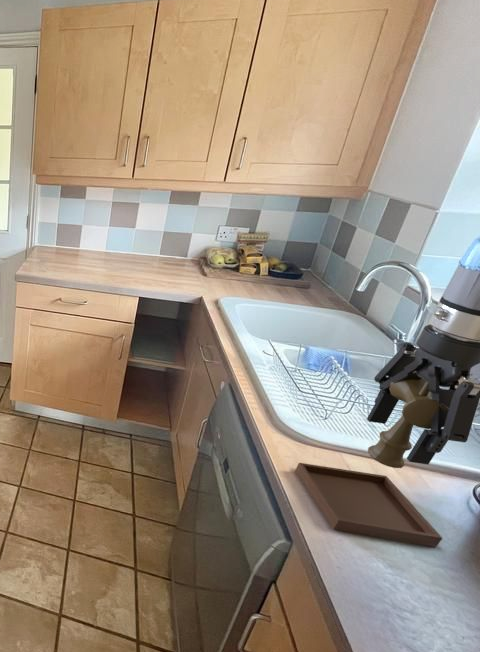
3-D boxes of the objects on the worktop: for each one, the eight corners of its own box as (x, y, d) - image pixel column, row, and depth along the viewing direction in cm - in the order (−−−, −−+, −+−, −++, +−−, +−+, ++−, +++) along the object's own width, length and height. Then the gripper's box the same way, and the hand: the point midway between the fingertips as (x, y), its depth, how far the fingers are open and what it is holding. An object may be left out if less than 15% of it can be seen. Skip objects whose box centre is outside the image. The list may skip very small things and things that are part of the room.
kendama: (399, 450, 79) (453, 362, 71) (412, 484, 72) (474, 390, 64) (358, 437, 82) (405, 352, 74) (367, 468, 75) (420, 377, 67)
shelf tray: (381, 484, 86) (386, 475, 85) (436, 547, 74) (443, 538, 73) (294, 471, 89) (298, 462, 88) (333, 529, 77) (338, 520, 76)
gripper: (383, 302, 77) (335, 399, 86) (496, 367, 57) (418, 485, 66) (431, 306, 75) (377, 405, 85) (563, 374, 55) (474, 494, 65)
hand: (395, 440), depth 75 cm, fingers closed on kendama, 10 cm apart
